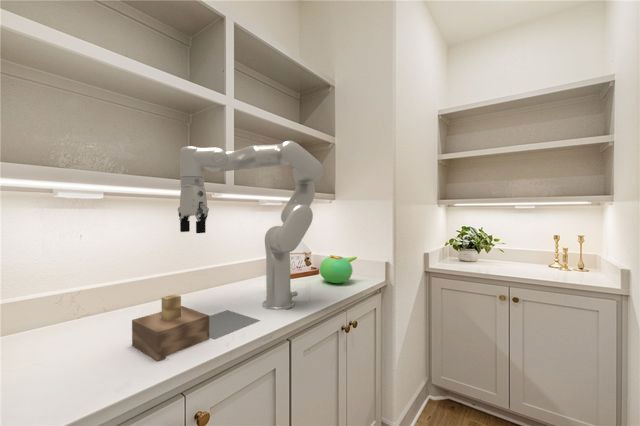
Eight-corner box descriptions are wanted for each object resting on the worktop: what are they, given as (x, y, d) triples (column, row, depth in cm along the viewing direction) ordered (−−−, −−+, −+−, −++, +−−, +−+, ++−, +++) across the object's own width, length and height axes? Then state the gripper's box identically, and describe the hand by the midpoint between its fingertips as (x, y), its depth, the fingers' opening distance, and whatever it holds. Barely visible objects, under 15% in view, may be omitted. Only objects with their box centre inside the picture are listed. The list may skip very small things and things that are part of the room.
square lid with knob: (182, 328, 94) (182, 287, 94) (209, 340, 86) (209, 294, 85) (132, 345, 82) (131, 298, 82) (157, 361, 74) (157, 308, 73)
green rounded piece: (313, 281, 156) (313, 254, 156) (337, 277, 166) (337, 251, 166) (335, 288, 142) (335, 258, 141) (360, 283, 152) (360, 255, 152)
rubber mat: (227, 311, 110) (227, 310, 110) (260, 321, 100) (260, 320, 100) (181, 326, 95) (181, 325, 95) (214, 341, 85) (214, 339, 85)
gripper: (217, 182, 100) (217, 232, 100) (188, 185, 110) (189, 230, 110) (196, 180, 94) (196, 234, 94) (168, 183, 104) (169, 232, 104)
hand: (192, 232), depth 102 cm, fingers open, 9 cm apart
